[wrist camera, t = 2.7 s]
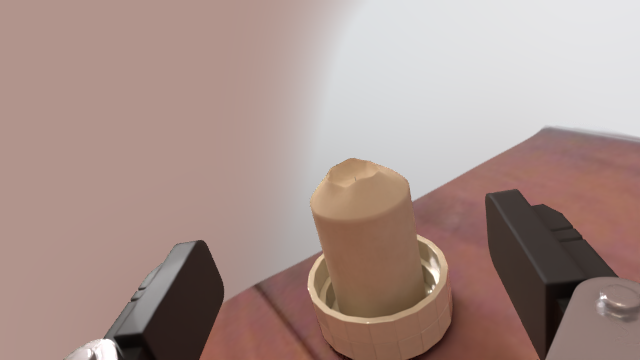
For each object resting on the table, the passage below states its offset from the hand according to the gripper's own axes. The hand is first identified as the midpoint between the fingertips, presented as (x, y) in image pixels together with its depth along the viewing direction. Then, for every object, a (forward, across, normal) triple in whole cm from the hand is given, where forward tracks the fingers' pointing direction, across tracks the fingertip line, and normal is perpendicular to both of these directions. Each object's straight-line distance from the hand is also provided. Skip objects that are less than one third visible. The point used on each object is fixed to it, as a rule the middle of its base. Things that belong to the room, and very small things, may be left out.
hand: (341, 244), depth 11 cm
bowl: (+10, 0, +13) cm, 16 cm away
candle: (+10, 0, +12) cm, 16 cm away
